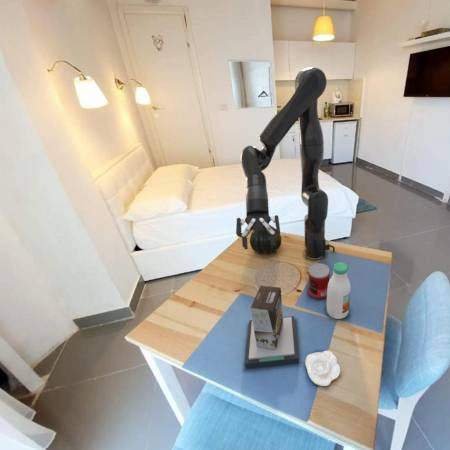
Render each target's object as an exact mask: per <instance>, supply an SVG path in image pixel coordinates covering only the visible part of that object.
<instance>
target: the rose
mask: <svg viewBox="0 0 450 450" xmlns="http://www.w3.org/2000/svg"><path fill="white" fill-rule="evenodd" d="M304 364H305V368H306V372H307V375H308V377H309V379H310V381H311V382H312V383H313V384H315V385H317V386H320V387H328V386H329V385H331V383H332V381H334V380H336V379H337V378H339V377H340V374H341V366H340V365H339V363H338V359H337V357H336V355H335V354H334V353H333V351H331V350H323V351H317V352H313V353H309V354H308V355H307V356H306V357H305V361H304Z"/></svg>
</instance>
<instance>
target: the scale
mask: <svg viewBox="0 0 450 450" xmlns="http://www.w3.org/2000/svg"><path fill="white" fill-rule="evenodd" d="M295 319H296V318H295V316H294V315H292V316H283V324H284V325H283V329H282V332H281V336H280V339H279V343H278V346H277V349H276V350H272V349H266V348H260V347H257V346H256V340H255V333H254V327H253V320H252V319H250V320H249V321H248V330H247V338H246V339H247V340H246V342H247V343H246V351H245V360H244V361H245V362H244V365H245V369H246V370H248V369H249V370H250V369H257V368H267V367H276V366H283V365H293V364H299V351H298V341H297V330H296V329H297V328H296V320H295Z"/></svg>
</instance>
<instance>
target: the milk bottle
mask: <svg viewBox="0 0 450 450" xmlns="http://www.w3.org/2000/svg"><path fill="white" fill-rule="evenodd" d="M332 266H333V267H332V276H331V277H330V279H329V283H328V289H327V296H326V312H327V315H328V316H329V317H330V318H332V319H335V320H342V319H345V318H346V317H347V316H348V315H349V311H350V301H351V289H352V288H351V287H352V286H351V282H350V280H349V278H348V272H349V271H348V270H349V268H348V265H347V264H346V263H344V262H341V261H340V262H339V261H338V262H335V263H334V264H333V265H332Z"/></svg>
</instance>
